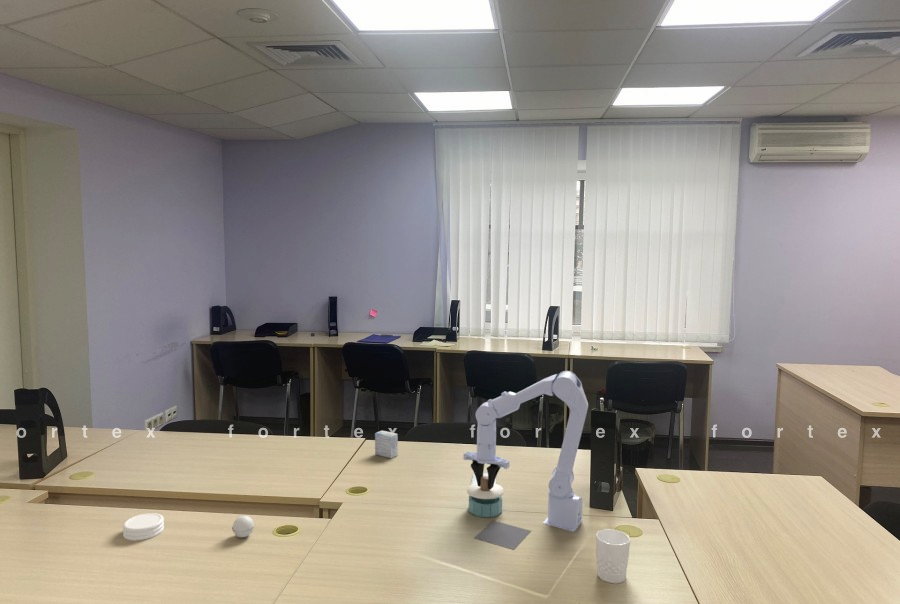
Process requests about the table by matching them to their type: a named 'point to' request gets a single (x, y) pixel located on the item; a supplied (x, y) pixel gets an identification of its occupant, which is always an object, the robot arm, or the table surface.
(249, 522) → the white ball
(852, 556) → the table surface
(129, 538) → the coaster
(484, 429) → the robot arm
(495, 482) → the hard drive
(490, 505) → the bowl
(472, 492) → the lid
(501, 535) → the mat
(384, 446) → the medicine box
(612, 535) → the white cup
